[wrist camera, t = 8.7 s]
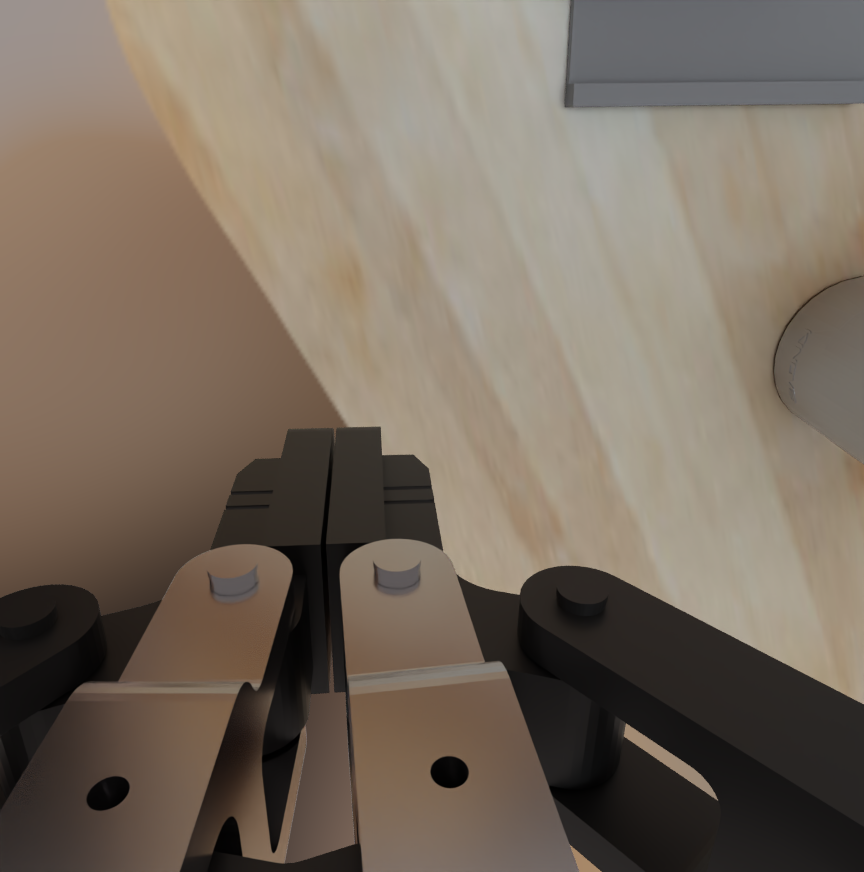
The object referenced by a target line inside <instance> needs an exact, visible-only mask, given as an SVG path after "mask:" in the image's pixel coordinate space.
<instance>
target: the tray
mask: <svg viewBox="0 0 864 872" xmlns="http://www.w3.org/2000/svg"><path fill="white" fill-rule="evenodd" d="M853 103H864V0H571V10H570V27H569V44H568V61H567V78H566V95H565V107H603V106H687V105H770V104H853Z"/></svg>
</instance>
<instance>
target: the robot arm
mask: <svg viewBox="0 0 864 872" xmlns="http://www.w3.org/2000/svg"><path fill="white" fill-rule="evenodd" d="M774 376H775V383H776V388H777V390H778V393H779V395H780V398H781V400H782V401H783V402H784V404H785V405H786V406H787V408H788V409H789V410H790V411H791V412H793V413H794V414H795V415H797V416H798V417H799V418H801V419H802V420H803V421H805V422H806V423H808V424H809V425H810V426H812V427H813V428H814V429H816V430H817V431H819V432H820V433H821V434H823V435H824V436H825V437H827V438H828V439H829V440H830V441H832V442H833V443H835V444H836V445H837V446H839V447H840V448H842V449H843V450H844V451H846V452H847V453H849V454H850V455H851V456H853V457H854V458H855V459H857V460H858V461H860V462H861V463H862V464H864V277H859V278H855V279H850V280H846V281H843V282H841V283H838V284H836V285H834V286H832V287H829V288H827V289H826V290H824V291H823V292H821V293H820V294H818V295H817V296H815V297H814V298H813V299H811V300H810V301H809V302H808V303H807V304H806V305H805V306H804V307H803V308H802V309H801V310H800V311H799V312H798V313H797V315H796V316H795V317H794V319H793V320H792V321H791V322H790V324H789V325H788V327H787V329H786V331H785V333H784V335H783V337H782V338H781V340H780V343H779V347H778V350H777V353H776V357H775V367H774ZM332 657H333V674H334V691H335V692H346V711H347V734H348V752H349V767H350V781H351V796H352V811H353V827H354V840H355V841H354V842H355V844H354V845H351V846H348V847H345V848H341V849H338V850H336V851H332V852H329V853H326V854H323V855H320V856H316V857H313V858H310V859H307V860H303V861H300V862H296V863H287V864H284V862H285V857H286V852H287V846H288V841H289V835H290V830H291V825H292V820H293V814H294V809H295V804H296V798H297V793H298V787H299V782H300V777H301V772H302V766H303V761H304V756H305V750H306V742H307V738H306V726H305V724H306V722H307V719H308V715H309V708H310V697H311V694H320V693H329V692H330V676H331V660H332ZM626 723H627V724H628V725H630V726H631V727H633V728H634V729H636V730H637V731H639V732H640V733H642V734H643V735H645V736H646V737H648V738H649V739H651V740H652V741H654V742H655V743H657V744H658V745H660V746H661V747H663V748H664V749H666V750H667V751H669V752H670V753H672V754H673V755H675V756H676V757H678V758H679V759H681V760H682V761H684V762H685V763H687V764H688V765H690V766H691V767H692V768H694V769H695V770H696V771H697V772H698V773H700V774H701V775H702V776H703V777H704V779H705V780H706V781H707V782H708V783H709V785H710V786H711V787H712V789H713V791H714V792H715V794H716V796H717V799H718V801H717V800H716V799H714V798H713V797H711V796H710V795H708V794H707V793H706V792H704V791H703V790H701V789H700V788H698V787H697V786H695V785H694V784H692V783H691V782H689V781H688V780H687V779H685V778H684V777H682V776H681V775H679V774H678V773H676V772H675V771H673V770H672V769H670V768H669V767H667V766H666V765H664V764H663V763H662V762H660V761H659V760H657V759H656V758H654V757H653V756H651V755H650V754H648V753H647V752H646V751H644V750H643V749H641V748H640V747H638V746H637V745H635V744H634V743H632V742H631V741H629V740H628V739H627V738H625V737H624V731H625V725H626ZM570 845H571V846H572V847H573V848H575V849H576V850H577V851H578V852H579V853H580V854H582V855H583V856H584V857H585V858H586V859H587V860H589V861H590V862H591V863H592V864H594V865H595V866H596V867H597V868H598V869H599V870H600V871H602V872H864V704H862V703H860V702H858V701H856V700H854V699H852V698H850V697H848V696H846V695H844V694H842V693H840V692H838V691H836V690H834V689H833V688H831V687H829V686H827V685H825V684H823V683H821V682H819V681H817V680H815V679H813V678H811V677H809V676H807V675H805V674H803V673H802V672H800V671H798V670H796V669H794V668H792V667H790V666H788V665H786V664H784V663H782V662H780V661H778V660H776V659H774V658H772V657H770V656H769V655H767V654H765V653H763V652H761V651H759V650H757V649H755V648H753V647H751V646H749V645H747V644H745V643H743V642H741V641H739V640H737V639H736V638H734V637H732V636H730V635H728V634H726V633H724V632H722V631H720V630H718V629H716V628H714V627H712V626H710V625H708V624H706V623H705V622H703V621H701V620H699V619H697V618H695V617H693V616H691V615H689V614H687V613H685V612H683V611H681V610H679V609H677V608H675V607H673V606H672V605H670V604H668V603H666V602H664V601H662V600H660V599H658V598H656V597H654V596H652V595H650V594H648V593H646V592H644V591H642V590H640V589H639V588H637V587H635V586H633V585H631V584H629V583H627V582H625V581H623V580H621V579H619V578H617V577H615V576H613V575H611V574H608V573H606V572H603V571H600V570H597V569H592V568H588V567H580V566H558V567H553V568H548V569H545V570H542V571H540V572H538V573H536V574H534V575H532V576H531V577H530V578H528V579H527V581H526V582H525V583H524V584H523V586H522V588H521V593H520V595H516V594H510V593H505V592H499V591H494V590H489V589H485V588H482V587H479V586H476V585H474V584H472V583H470V582H468V581H466V580H464V579H462V578H461V577H459V576H458V575H457V574H456V572H455V569H454V566H453V563H452V561H451V559H450V558H449V557H448V556H447V555H446V554H445V553H444V552H443V547H442V542H441V536H440V530H439V525H438V519H437V513H436V508H435V503H434V496H433V491H432V485H431V479H430V474H429V469H428V468H427V467H426V466H425V465H424V464H423V463H422V462H421V461H420V460H419V459H418V458H416V457H415V456H414V455H382V447H381V427H350V428H337V430H336V440H335V439H334V430H333V428H315V429H314V428H311V429H288V432H287V436H286V440H285V444H284V448H283V452H282V456H281V458H274V459H255V460H254V461H253V462H251V463H250V464H249V465H248V466H246V467H245V468H244V469H243V470H242V471H240V472H239V473H238V474H237V476H236V479H235V482H234V484H233V487H232V490H231V495H230V496H229V499H228V501H227V505H226V510H224V513H223V515H222V518H221V521H220V524H219V527H218V529H217V532H216V535H215V538H214V541H213V544H212V546H211V549H210V551H207V552H205V553H203V554H200V555H199V556H197V557H195V558H193V559H191V560H190V561H189V562H187V563H186V564H185V565H184V566H183V567H182V568H181V569H180V570H179V571H178V572H177V574H176V575H175V577H174V579H173V581H172V583H171V584H170V587H169V588H168V590H167V592H166V594H165V596H164V597H163V599H162V600H160V601H157V602H154V603H151V604H148V605H144V606H141V607H137V608H132V609H129V610H124V611H120V612H116V613H112V614H107V615H103V616H101V613H100V608H99V604H98V601H97V599H96V598H95V596H94V595H93V594H91V593H90V592H89V591H87V590H85V589H83V588H80V587H76V586H72V585H44V586H38V587H32V588H28V589H24V590H21V591H17V592H14V593H12V594H9V595H6V596H4V597H2V598H0V872H579V869H578V867H577V864H576V861H575V858H574V856H573V853H572V850H571V847H570Z"/></svg>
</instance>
